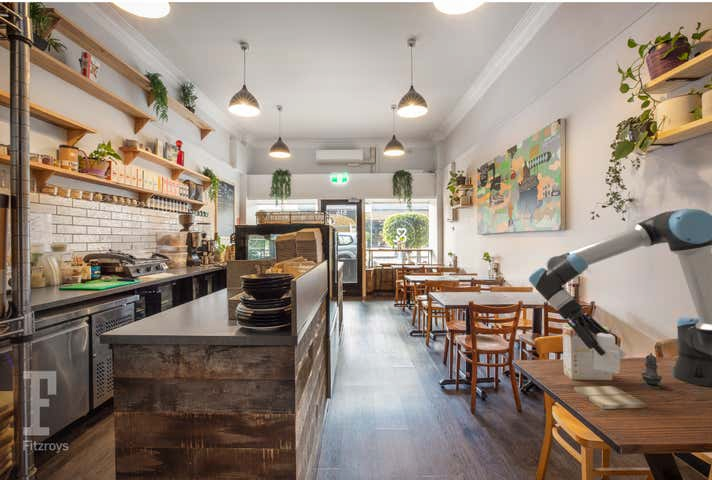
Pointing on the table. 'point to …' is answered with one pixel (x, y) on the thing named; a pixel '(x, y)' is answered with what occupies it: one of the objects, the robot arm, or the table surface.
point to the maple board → (609, 397)
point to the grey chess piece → (651, 373)
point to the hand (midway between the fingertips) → (618, 360)
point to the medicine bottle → (611, 346)
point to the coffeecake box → (580, 358)
